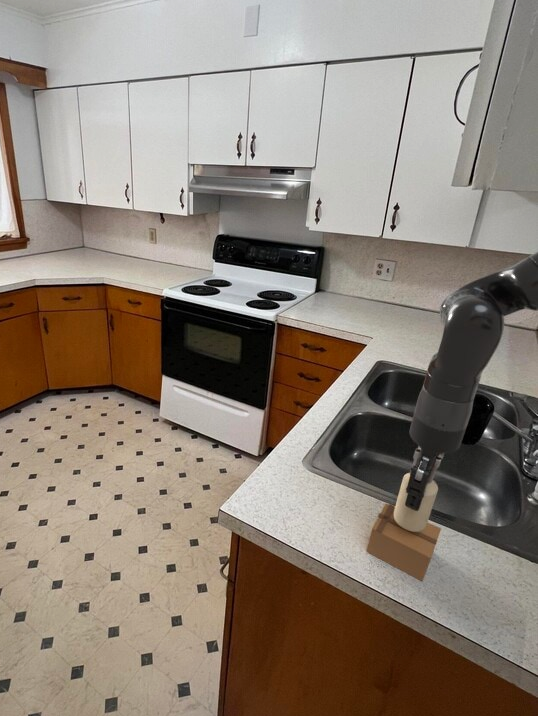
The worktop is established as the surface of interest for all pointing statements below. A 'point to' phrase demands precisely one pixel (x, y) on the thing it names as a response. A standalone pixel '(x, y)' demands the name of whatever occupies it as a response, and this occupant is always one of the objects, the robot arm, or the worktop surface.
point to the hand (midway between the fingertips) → (416, 496)
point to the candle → (411, 517)
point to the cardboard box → (402, 544)
